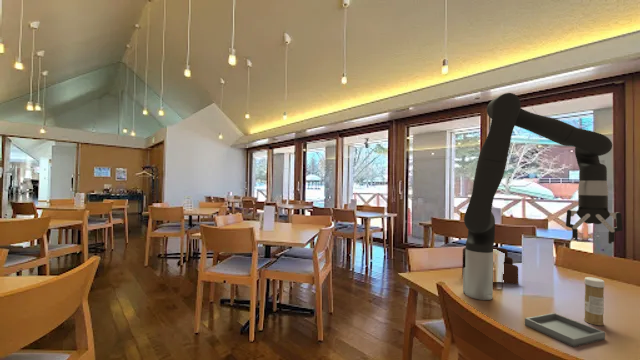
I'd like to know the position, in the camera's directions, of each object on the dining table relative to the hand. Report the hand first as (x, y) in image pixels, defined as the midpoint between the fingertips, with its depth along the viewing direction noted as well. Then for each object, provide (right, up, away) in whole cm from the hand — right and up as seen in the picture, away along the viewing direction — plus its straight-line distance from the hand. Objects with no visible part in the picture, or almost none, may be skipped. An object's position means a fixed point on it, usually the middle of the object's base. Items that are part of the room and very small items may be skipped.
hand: (592, 241), depth 103 cm
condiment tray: (-24, -23, -17) cm, 37 cm away
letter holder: (-18, -24, +32) cm, 43 cm away
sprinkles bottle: (-9, -23, -10) cm, 27 cm away
